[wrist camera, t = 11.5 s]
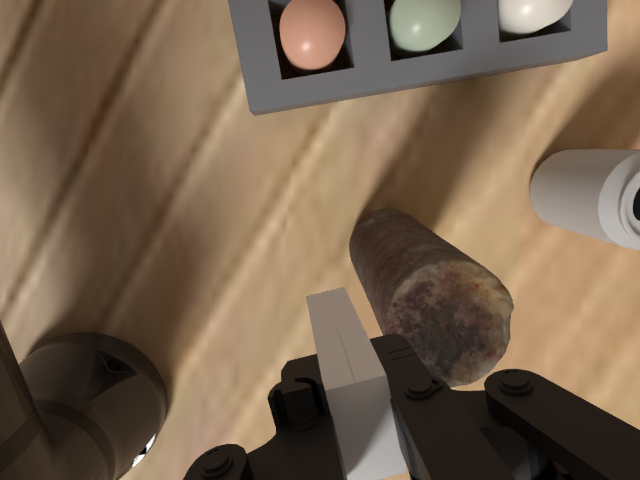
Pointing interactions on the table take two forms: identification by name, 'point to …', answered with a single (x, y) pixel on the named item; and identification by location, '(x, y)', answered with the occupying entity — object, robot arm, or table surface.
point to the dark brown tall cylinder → (432, 296)
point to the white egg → (527, 16)
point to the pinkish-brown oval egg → (311, 35)
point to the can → (591, 193)
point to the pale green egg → (420, 25)
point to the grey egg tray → (389, 76)
